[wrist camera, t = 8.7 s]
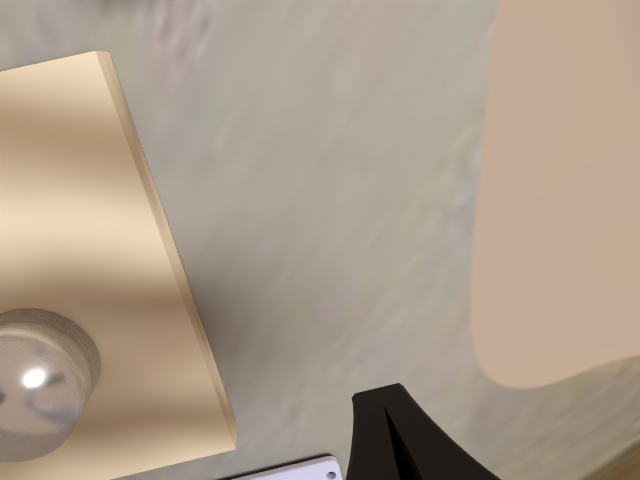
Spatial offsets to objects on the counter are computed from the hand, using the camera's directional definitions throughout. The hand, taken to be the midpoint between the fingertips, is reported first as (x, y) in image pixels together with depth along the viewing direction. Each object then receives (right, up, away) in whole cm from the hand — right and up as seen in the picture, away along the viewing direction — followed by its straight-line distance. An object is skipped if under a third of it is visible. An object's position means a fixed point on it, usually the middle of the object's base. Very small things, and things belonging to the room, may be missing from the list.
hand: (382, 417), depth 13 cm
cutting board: (-14, +2, +8) cm, 16 cm away
